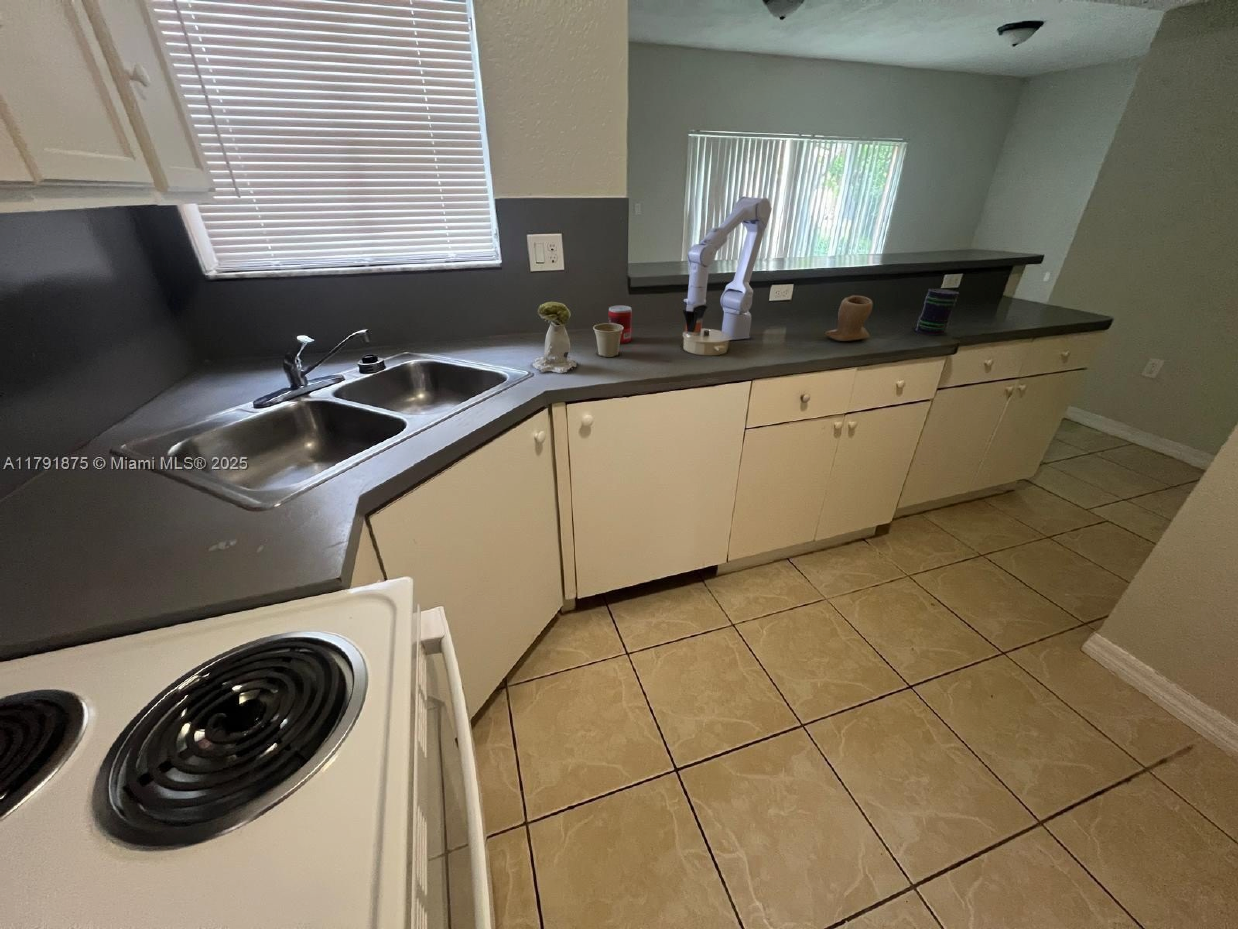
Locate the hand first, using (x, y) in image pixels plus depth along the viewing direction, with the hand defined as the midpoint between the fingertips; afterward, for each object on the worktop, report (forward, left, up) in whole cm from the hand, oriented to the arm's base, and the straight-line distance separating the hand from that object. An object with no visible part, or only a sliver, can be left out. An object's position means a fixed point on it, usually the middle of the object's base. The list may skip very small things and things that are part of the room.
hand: (693, 329), depth 160 cm
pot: (-3, +3, -6) cm, 7 cm away
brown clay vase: (-58, +10, -6) cm, 59 cm away
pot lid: (-3, +3, -2) cm, 5 cm away
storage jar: (-97, +11, -6) cm, 98 cm away
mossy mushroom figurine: (+49, +5, -6) cm, 49 cm away
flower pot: (+30, -1, -6) cm, 30 cm away
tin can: (0, 0, -1) cm, 1 cm away
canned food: (+21, -14, -6) cm, 26 cm away
